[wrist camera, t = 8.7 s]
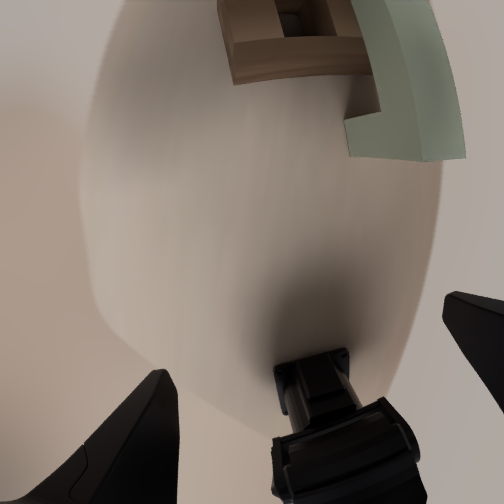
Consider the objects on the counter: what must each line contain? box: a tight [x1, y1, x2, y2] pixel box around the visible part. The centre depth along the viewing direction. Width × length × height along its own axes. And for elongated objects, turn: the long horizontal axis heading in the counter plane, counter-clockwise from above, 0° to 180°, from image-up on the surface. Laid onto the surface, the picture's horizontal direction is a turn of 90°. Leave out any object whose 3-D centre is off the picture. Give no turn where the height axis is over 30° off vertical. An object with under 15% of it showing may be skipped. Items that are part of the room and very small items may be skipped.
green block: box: [344, 0, 466, 162], centre depth 13 cm, size 10×3×8 cm, turn 11°
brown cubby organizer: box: [217, 0, 373, 85], centre depth 13 cm, size 6×12×5 cm, turn 101°
